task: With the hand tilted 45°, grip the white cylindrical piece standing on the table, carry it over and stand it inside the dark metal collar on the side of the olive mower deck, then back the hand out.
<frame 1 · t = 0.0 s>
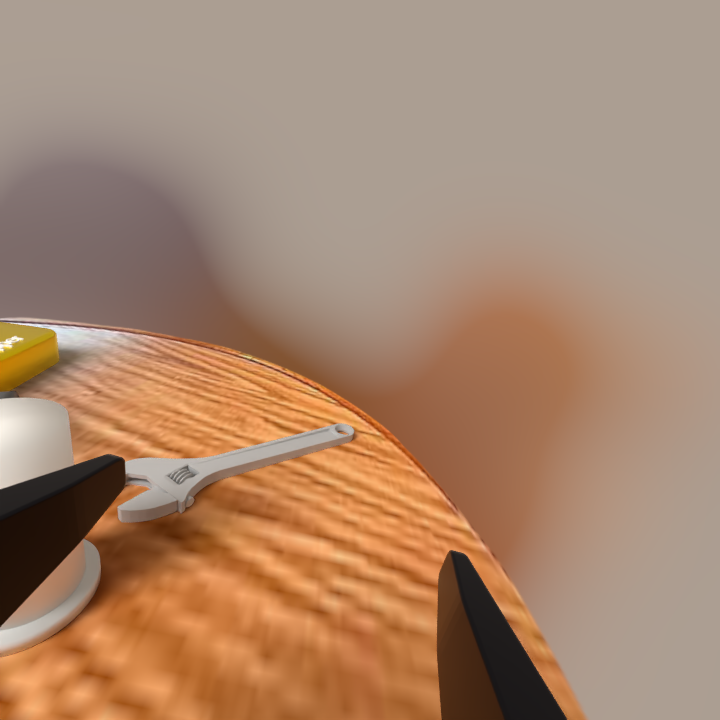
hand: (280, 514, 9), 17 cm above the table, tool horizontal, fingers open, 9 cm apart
adjustable wrench: (254, 471, 34), on the table
white cylindrical piece: (33, 594, 20), on the table
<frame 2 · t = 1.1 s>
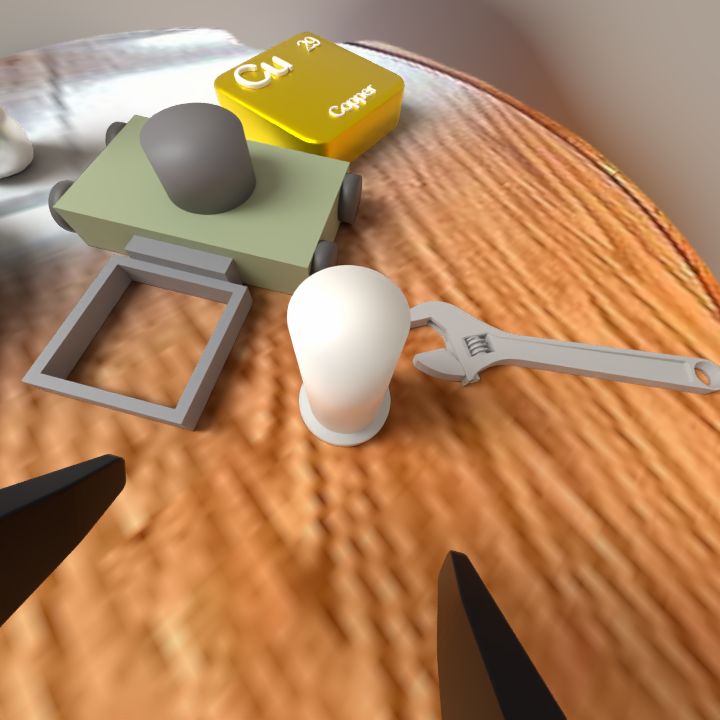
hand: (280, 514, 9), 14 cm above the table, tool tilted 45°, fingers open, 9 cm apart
adjustable wrench: (550, 369, 27), on the table
mower deck: (157, 343, 26), on the table
plastic bottle: (9, 166, 33), on the table
element tile: (314, 126, 39), on the table
white cylindrical piece: (345, 402, 25), on the table
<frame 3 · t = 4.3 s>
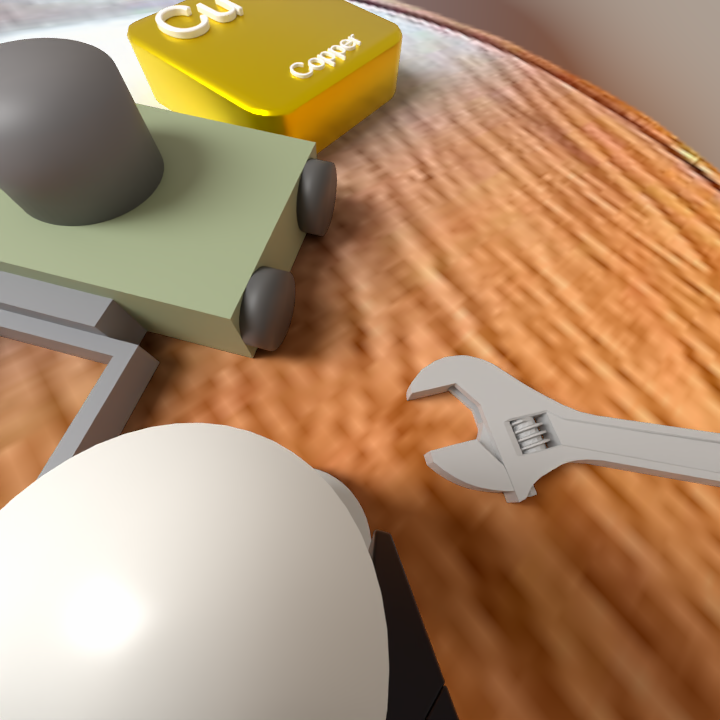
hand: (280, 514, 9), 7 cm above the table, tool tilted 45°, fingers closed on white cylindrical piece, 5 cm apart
adjustable wrench: (643, 467, 17), on the table
element tile: (279, 98, 28), on the table
white cylindrical piece: (295, 547, 14), on the table, touching gripper
when the fingers open (8 cm above the table, at t = 8.1 s): white cylindrical piece drops 1 cm, resting in mower deck.
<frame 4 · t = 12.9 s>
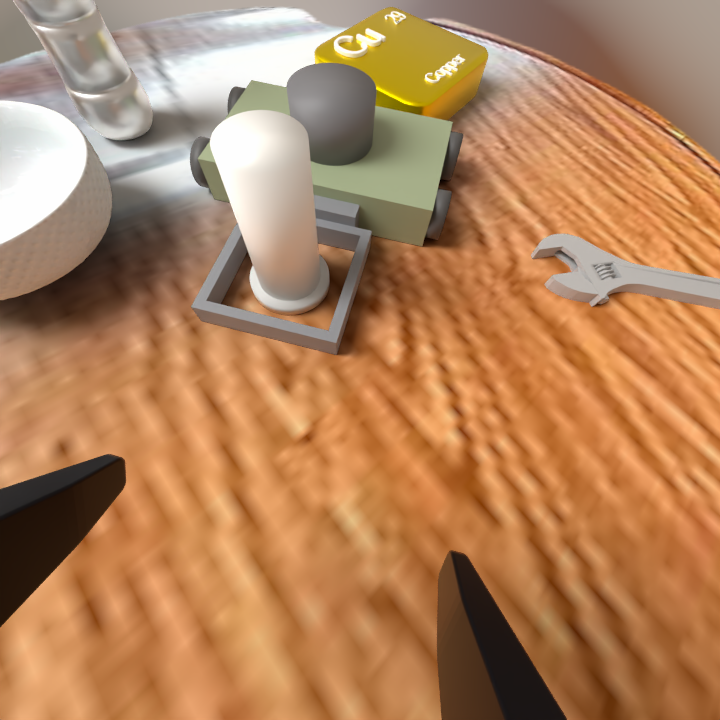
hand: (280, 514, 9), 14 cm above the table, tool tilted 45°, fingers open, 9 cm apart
adjustable wrench: (666, 299, 30), on the table
mower deck: (291, 281, 28), on the table
plastic bottle: (129, 131, 35), on the table
element tile: (397, 96, 41), on the table
white cylindrical piece: (291, 282, 28), resting in mower deck
cereal bowl: (37, 249, 29), on the table
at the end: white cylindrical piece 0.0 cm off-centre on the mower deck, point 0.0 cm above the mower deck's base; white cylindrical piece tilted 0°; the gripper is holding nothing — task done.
